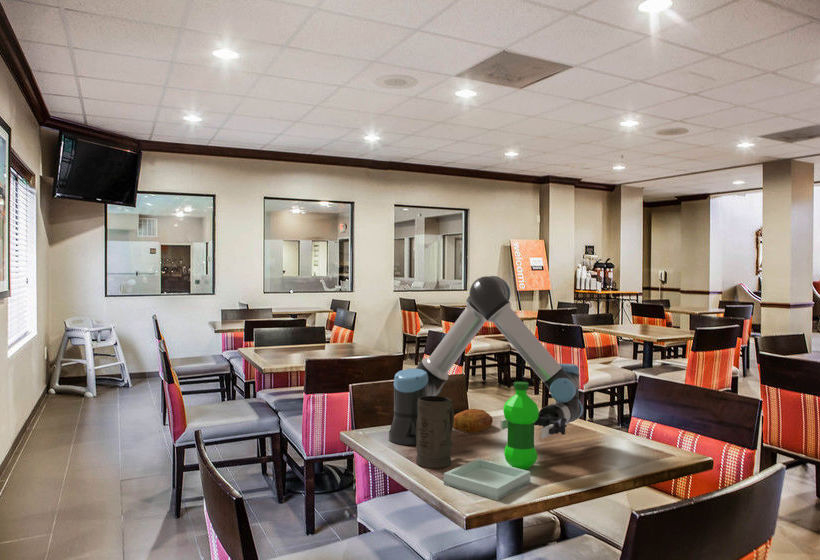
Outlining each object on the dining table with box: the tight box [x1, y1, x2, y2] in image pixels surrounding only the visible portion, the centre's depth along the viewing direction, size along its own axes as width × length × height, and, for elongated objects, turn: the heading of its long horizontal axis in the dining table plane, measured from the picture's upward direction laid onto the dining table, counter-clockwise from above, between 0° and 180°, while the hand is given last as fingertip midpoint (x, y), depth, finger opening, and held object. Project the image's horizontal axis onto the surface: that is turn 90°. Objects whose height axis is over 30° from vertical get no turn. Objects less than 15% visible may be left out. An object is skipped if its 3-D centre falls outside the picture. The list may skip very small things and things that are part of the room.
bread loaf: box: [453, 408, 494, 434], centre depth 214 cm, size 14×16×8 cm
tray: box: [443, 457, 531, 501], centre depth 157 cm, size 17×17×3 cm
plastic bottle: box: [503, 381, 540, 470], centre depth 171 cm, size 10×10×25 cm
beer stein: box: [415, 395, 455, 469], centre depth 176 cm, size 15×11×20 cm
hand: (521, 429), depth 170 cm, fingers open, 13 cm apart
